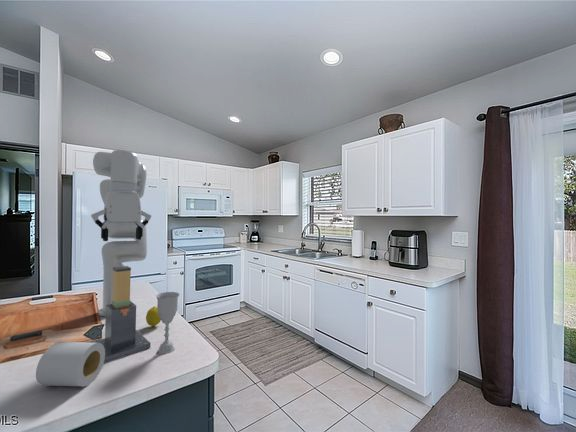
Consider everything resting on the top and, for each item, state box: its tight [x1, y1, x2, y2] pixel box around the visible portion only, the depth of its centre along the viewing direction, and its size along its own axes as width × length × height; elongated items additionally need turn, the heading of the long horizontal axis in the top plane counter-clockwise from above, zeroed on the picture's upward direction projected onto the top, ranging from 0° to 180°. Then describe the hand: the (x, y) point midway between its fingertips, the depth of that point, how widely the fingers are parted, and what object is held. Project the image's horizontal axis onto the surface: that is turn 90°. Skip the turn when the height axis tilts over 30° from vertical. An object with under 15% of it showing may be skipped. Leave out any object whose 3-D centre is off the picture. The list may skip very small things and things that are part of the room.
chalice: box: [155, 291, 180, 354], centre depth 88 cm, size 7×7×18 cm
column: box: [112, 265, 132, 309], centre depth 88 cm, size 4×4×19 cm
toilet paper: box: [35, 341, 105, 387], centre depth 70 cm, size 10×10×10 cm
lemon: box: [145, 306, 162, 328], centre depth 105 cm, size 6×6×8 cm
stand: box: [89, 301, 151, 364], centre depth 88 cm, size 14×14×14 cm
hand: (122, 240), depth 89 cm, fingers open, 9 cm apart
